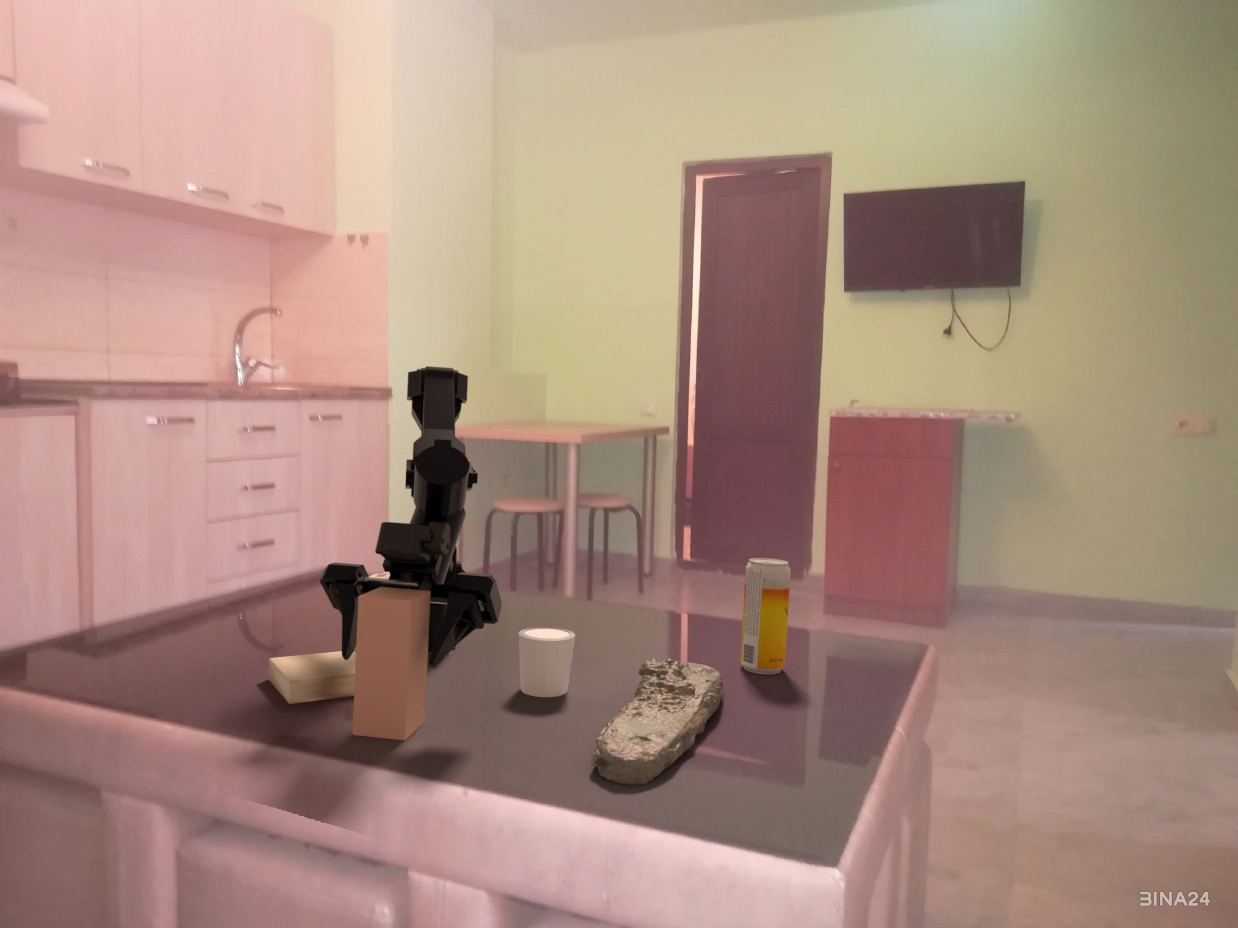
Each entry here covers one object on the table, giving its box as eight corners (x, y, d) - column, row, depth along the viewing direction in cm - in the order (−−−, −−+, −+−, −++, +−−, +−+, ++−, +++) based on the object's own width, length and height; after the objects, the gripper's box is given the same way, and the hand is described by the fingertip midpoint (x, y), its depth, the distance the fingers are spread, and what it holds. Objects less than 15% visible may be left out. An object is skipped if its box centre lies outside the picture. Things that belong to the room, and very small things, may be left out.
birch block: (352, 673, 111) (353, 649, 111) (378, 696, 103) (379, 670, 102) (268, 682, 105) (269, 658, 105) (289, 707, 97) (290, 680, 97)
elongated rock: (562, 791, 82) (667, 816, 79) (567, 736, 81) (672, 760, 78) (658, 675, 115) (734, 689, 112) (662, 635, 114) (739, 649, 112)
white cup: (528, 701, 102) (531, 641, 102) (507, 684, 108) (510, 627, 108) (582, 695, 106) (585, 637, 105) (558, 679, 112) (561, 624, 111)
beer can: (792, 670, 122) (799, 562, 121) (768, 678, 117) (775, 565, 117) (756, 660, 126) (762, 556, 125) (730, 667, 122) (737, 559, 121)
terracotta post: (375, 717, 94) (380, 586, 94) (424, 722, 93) (430, 590, 93) (352, 734, 89) (358, 596, 88) (405, 740, 88) (411, 600, 87)
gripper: (331, 488, 95) (273, 609, 85) (499, 499, 93) (461, 625, 82) (359, 551, 103) (310, 669, 93) (515, 562, 101) (482, 685, 90)
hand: (387, 661), depth 89 cm, fingers open, 9 cm apart
